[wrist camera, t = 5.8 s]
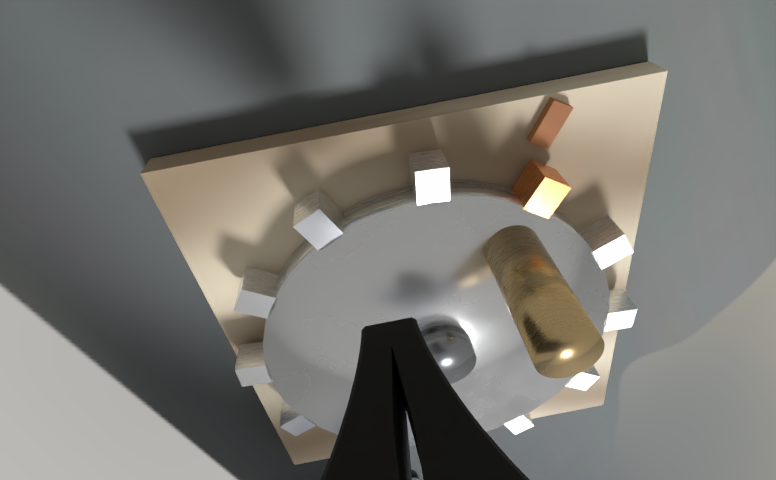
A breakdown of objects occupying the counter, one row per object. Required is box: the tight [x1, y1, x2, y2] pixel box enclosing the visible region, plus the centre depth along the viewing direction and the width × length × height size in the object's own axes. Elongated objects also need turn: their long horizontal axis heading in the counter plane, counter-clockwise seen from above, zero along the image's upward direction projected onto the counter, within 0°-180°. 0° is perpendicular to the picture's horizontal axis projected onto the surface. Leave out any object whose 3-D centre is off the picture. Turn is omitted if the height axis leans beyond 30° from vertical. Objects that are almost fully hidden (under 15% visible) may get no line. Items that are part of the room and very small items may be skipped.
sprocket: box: [234, 149, 637, 445], centre depth 17 cm, size 15×15×6 cm
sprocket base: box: [140, 61, 668, 465], centre depth 20 cm, size 17×16×1 cm
